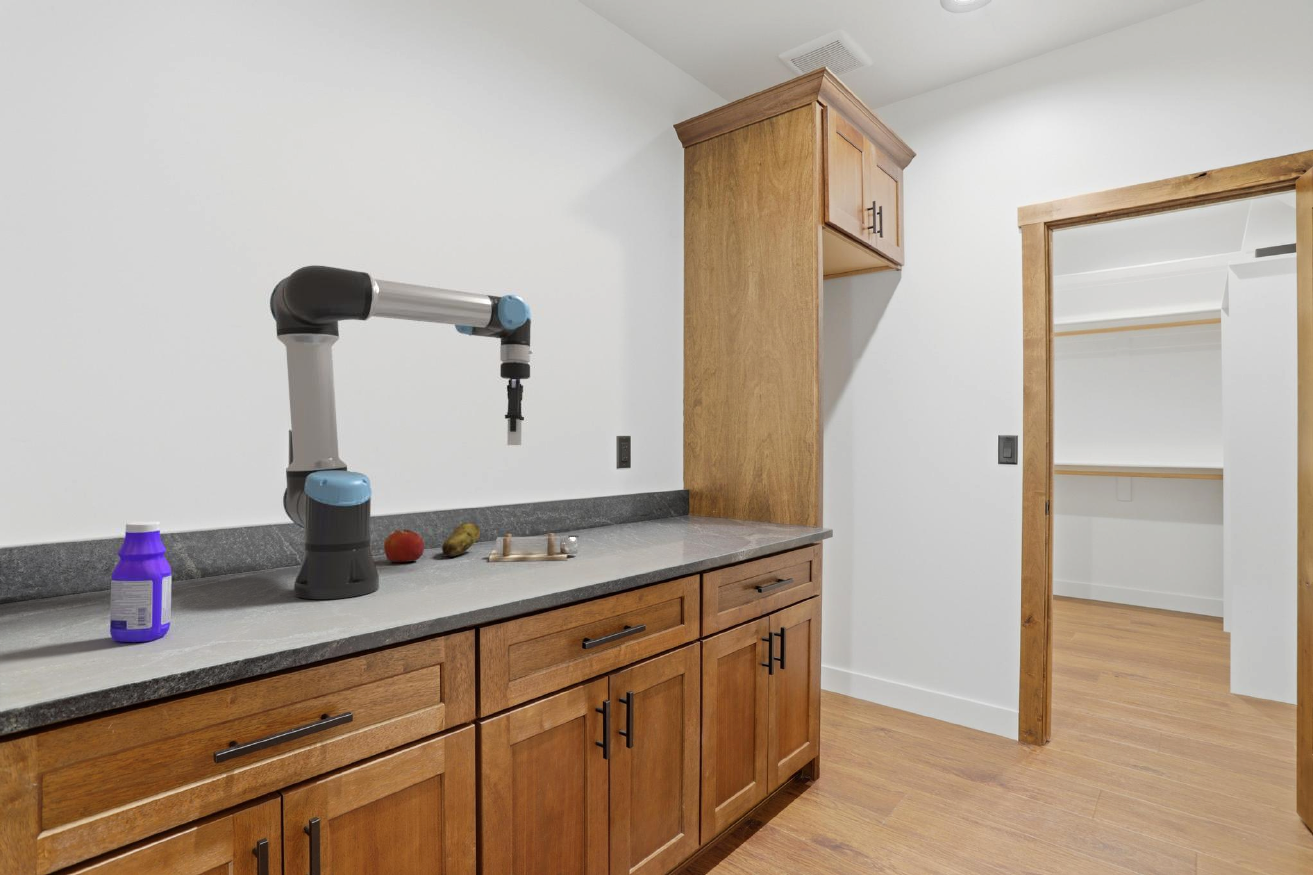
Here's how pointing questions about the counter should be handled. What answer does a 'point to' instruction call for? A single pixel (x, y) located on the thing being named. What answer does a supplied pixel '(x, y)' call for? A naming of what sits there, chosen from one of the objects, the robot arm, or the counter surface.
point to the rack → (526, 557)
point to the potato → (461, 539)
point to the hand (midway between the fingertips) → (514, 445)
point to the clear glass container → (539, 545)
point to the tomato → (403, 546)
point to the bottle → (141, 586)
